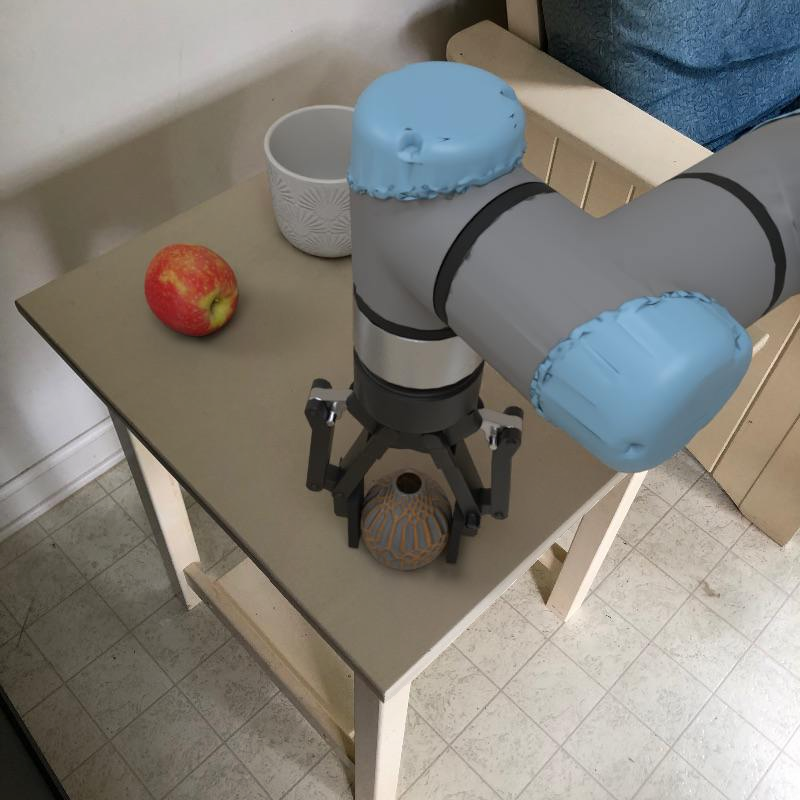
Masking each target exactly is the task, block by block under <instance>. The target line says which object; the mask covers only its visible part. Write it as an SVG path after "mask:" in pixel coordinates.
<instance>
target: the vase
mask: <svg viewBox="0 0 800 800" xmlns="http://www.w3.org/2000/svg"><path fill="white" fill-rule="evenodd" d="M451 505H452V504H451V502H450V499H449V497H448V494H447V493H446V491H445V490H444V488H443V486H442V485H441V484H440V483H439V482H438V481H437V480H436V479H435V478H434V477H432V476H431V475H428V474H427V473H425V472H423V471H420V470H418V469H415V468H408V467H407V468H402V469H397V470H393V471H391V472H388V473H386V474H384V475H382V476H381V477H380V478H378V479H376V481H375V482H374V483H373V484H372V485H371V487H370V488H369V489H368V491H367V492H366V493H365V495H364V501H363V503H362V507H361V512H360V527H361V537H362V538H363V541H364V544H365V546H366V547H367V549H368V551H369V552H370V553H371V555H372V556H373V557H374V558H375V559H376V560H377V561H379V563H381V564H384V565H385V566H387V567H389V568H392V569H396V570H400V571H401V570H402V571H411V570H416V569H418V568H422V567H424V566H427V565H429V564H430V563H431V562H433V561H434V560H435V559H436V558H438V557H439V556H440V555H441V553H442V552H443V550H444V549H445V547H446V546H447V545H448V544H447V543H449V537H450V533H451V528H452V518H453V509H452V506H451Z"/></svg>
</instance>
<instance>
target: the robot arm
mask: <svg viewBox="0 0 800 800" xmlns="http://www.w3.org/2000/svg"><path fill="white" fill-rule="evenodd" d="M354 108H355V109H354V114H353V123H352V140H351V157H350V165H349V167H348V169H347V181H348V184H349V195H350V222H351V250H352V254H351V274H352V282H351V288H352V289H351V291H352V295H351V296H352V299H351V301H352V341H353V351H352V356H353V357H352V358H353V359H352V360H353V361H352V362H353V381H352V382H351V383H350V385H349V388H333V386H332V384H331V382H330V381H329V380H327V379H325V378H321V377H319V378H315V379H313V381H312V384H311V387H310V390H309V394H308V397H307V400H306V404H305V408H304V411H303V414H304V416H305V418H306V421H307V423H308V425H309V427H310V429H311V436H310V445H309V452H308V454H309V455H308V462H307V473H306V480H305V481H306V482H305V487H306V488H307V490H308V491H310V492H315V493H320V492H322V491H323V490H326V491H328V492H330V493H331V495H330V496H331V497H332V501H333V502H332V503H333V513H334V514H335V516H336V517H339V518H346V519H347V541H348V543H347V545H348V546H347V547H348V548H352V549H357V550H358V549H359V546H360V541H361V537H362V533H361V527H360V512H361V507H362V503H363V501H364V498H365V476H366V475H367V473H368V472H369V471H370V469H371V468H372V466H373V465H374V464H375V463H376V462H377V461H380V460H381V459H382V458H383V457H384V455H385V454H386V452H387V451H388V450H389V449H393V450H411V451H415V452H417V453H422V454H425V455H426V454H427V455H430V458H431V460H432V462H433V464H434V465H435V468H436V469H437V470H441V472H442V474H443V476H444V477H445V480H446V482H447V485H448V486H449V488H450V490H451V492H452V494H453V496H454V498H455V501H454V508H453V511H452V528H451V533H450V536H449V539H448V544H447V547H448V548H447V553H446V558H445V560H446V561H445V563H446V564H451V565H456V564H457V560H458V554H459V549H460V544H461V539H462V536H463V537H470V538H475V537H476V536H477V535H478V531H479V529H480V528H481V523H482V517H483V516H486V515H490V516H491V518H492V519H495V520H498V521H504V520H507V519H508V518H509V513H510V511H509V510H510V501H511V500H510V499H511V490H512V487H511V486H512V470H513V469H512V467H513V457H514V455H515V454H516V453H517V451H518V450H519V449H520V447H521V446H522V439H523V427H524V417H525V410H524V409H522V407H520V406H518V405H517V406H516V405H510V406H508V407H507V406H506V408H505V409H504V411H502V412H500V411H496V410H494V409H489V408H487V407H485V403H484V401H483V400H482V398H481V396H480V391H481V385H482V380H483V376H484V375H483V374H484V368H485V363H487V364H488V365H489V366H490V367H491V368H492V369H493V370H494V371H495V372H496V373H497V374H498V375H500V377H501V378H503V379H504V380H505V381H506V382H507V383H508V384H509V385H510V386H511V387H512V388H513V389H514V390H516V391H517V392H518V393H519V394H520V395H521V396H522V397H523V398H525V400H527V402H529V404H531V405H532V406H533V409H534V411H535V412H536V413H537V414H538V415H539V417H540V418H542V419H543V420H545V422H546V423H549V424H551V425H552V426H553V427H555V428H557V429H560V430H562V432H564V433H565V434H566V435H568V437H570V438H572V439H573V440H574V441H575V442H576V443H577V444H579V445H580V446H581V447H583V448H584V449H585V450H586V451H588V453H590V454H592V455H593V456H594V457H595V458H596V459H598V461H600V462H601V463H602V464H604V465H605V466H606V467H607V468H609V469H611V470H614V471H616V472H618V473H622V474H623V473H624V474H638V473H639V474H640V473H642V472H647V471H650V470H652V469H655V468H657V467H659V466H661V465H662V464H664V463H665V462H667V461H669V460H670V459H671V458H673V457H674V456H675V455H677V454H678V453H679V452H680V451H682V450H683V449H684V448H685V447H686V446H687V445H688V444H690V442H691V441H692V440H693V439H694V437H695V436H696V435H697V434H698V433H699V432H700V431H701V430H703V429H704V428H705V427H707V426H708V425H709V424H710V423H711V422H712V421H713V420H714V419H715V417H716V416H717V415H718V414H719V413H720V411H721V410H722V409H723V408H724V406H725V405H726V404H727V403H728V402H729V400H731V398H732V396H733V395H734V394H735V393H736V391H737V389H738V388H739V386H740V384H741V382H742V381H743V379H744V378H745V376H746V374H747V372H748V370H749V368H750V366H751V362H752V359H753V353H754V346H753V345H754V344H753V339H752V337H751V335H750V334H749V332H748V331H747V329H748V328H750V327H751V326H752V325H754V324H755V323H756V322H758V321H759V320H760V319H762V318H764V317H765V316H766V315H767V314H769V313H771V312H772V311H773V310H775V309H776V308H777V307H779V306H780V305H782V304H783V303H785V302H786V301H788V300H789V299H790V298H792V297H794V296H797V295H800V108H798V109H795V110H794V111H791V112H787V113H784V114H782V115H779V116H777V117H772V118H770V119H767V120H764V121H763V122H761V123H759V124H756V125H755V126H754V127H753V128H752V129H751V130H750V131H748V132H746V133H745V134H743V135H741V136H740V137H738V139H736V140H735V141H733V142H731V143H730V144H728V145H726V146H724V147H722V148H720V149H719V150H717V151H716V152H714V153H711V155H708V156H707V157H705V158H704V159H701V160H700V161H698V162H697V163H695V164H693V165H692V166H691V165H690V167H688V168H686V169H684V170H683V171H681V172H679V173H678V174H676V175H673V176H672V177H671V178H669V179H667V180H665V181H663V182H661V183H660V184H658V185H656V186H655V187H653V188H652V189H649V190H648V191H646V192H644V193H642V194H640V195H638V196H637V197H635V198H632V199H631V200H630V201H628V202H626V203H624V204H622V205H621V206H618V207H617V208H615V209H613V210H611V211H610V212H608V213H606V214H604V215H603V216H600V217H594V216H593V215H591V214H590V213H589V212H587V211H586V210H585V209H583V208H581V207H580V206H579V205H578V204H576V203H574V202H573V201H572V200H571V199H569V198H567V197H566V196H565V195H563V194H562V193H560V192H559V191H557V190H556V189H554V188H553V187H551V186H550V185H549V184H548V183H547V182H545V181H544V180H543V179H541V178H540V177H538V176H537V175H535V174H534V173H533V172H532V171H530V170H529V169H527V168H526V167H525V166H524V164H523V161H522V160H523V159H524V155H525V154H526V150H527V148H528V142H526V138H525V137H526V136H525V134H526V125H527V115H526V111H525V110H524V108H523V106H522V103H521V102H520V100H519V99H518V97H517V94H516V91H515V89H514V88H513V87H512V86H511V85H510V84H509V83H508V82H506V81H505V80H504V79H502V78H500V77H499V76H498V75H495V74H494V73H492V72H491V71H488V70H485V69H483V68H480V67H478V66H474V65H471V64H465V63H461V62H455V61H444V60H443V61H442V60H437V61H436V60H435V61H434V60H433V61H432V60H429V61H421V62H415V63H410V64H405V65H403V66H401V68H399V69H396V70H393V71H390V72H384V73H383V74H381V75H380V76H378V77H377V78H375V79H374V80H373V81H372V82H370V83H369V84H368V85H367V86H366V88H365V89H363V90H362V92H361V94H360V95H359V97H358V99H357V101H356V102H355V106H354ZM345 411H348V413H349V414H350V416H352V418H354V419H355V420H356V421H357V422H358V423H359V424H360V425H361V426H362V427H363V428H362V430H361V431H360V433H359V434H358V435H357V437H356V439H355V440H354V442H353V443H352V445H351V447H349V449H348V450H347V452H346V453H345V455H344V456H340V457H339V462H338V465H335V464H332V463H331V457H332V456H331V455H332V448H333V443H334V436H335V428H336V423H337V421H339V420H341V419H342V417H343V413H344V412H345ZM479 430H481V431H483V433H484V439H485V441H487V443H488V449H490V450H492V453H491V462H490V487H485V485H484V483H483V481H482V478H481V477H480V474H479V472H478V471H479V470H478V469H477V467H476V464H475V462H474V459H473V458H472V455H471V453H470V451H469V449H468V446H467V444H466V442H465V439H467V438H468V437H470V436H472V435H473V434H476V433H477V432H478V431H479Z"/></svg>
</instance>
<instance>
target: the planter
mask: <svg viewBox="0 0 800 800" xmlns="http://www.w3.org/2000/svg"><path fill="white" fill-rule="evenodd" d="M354 109H355V107H352V106H348V105H340V104H316V105H309V106H305V107H302V108H297V109H295V110H292V111H290V112H288V113H285V114H283V115H282V116H280V117H279V118H278V119H277V120H276V121H274V122H273V123H272V124H271V125H270V126H269V128H268V130H267V131H266V133H265V136H264V139H263V151H264V156H265V165H266V172H267V178H268V179H267V180H268V186H269V192H270V197H271V202H272V209H273V212H274V216H275V219H276V223H277V226H278V227H279V229H280V232H281V233H282V235H283V237H285V239H286V240H287V242H289V243H290V244H291V245H293V247H295V248H297V249H298V250H300V251H302V252H304V253H305V254H310V255H312V256H316V257H323V258H340V257H346V256H350V255H351V256H352V250H351V222H350V195H349V184H348V181H347V169H348V167H349V165H350V157H351V140H352V123H353V114H354Z"/></svg>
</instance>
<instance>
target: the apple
mask: <svg viewBox="0 0 800 800" xmlns="http://www.w3.org/2000/svg"><path fill="white" fill-rule="evenodd" d="M143 287H144V288H143V289H144V296H145V300H146V303H147V305H148V307H149V309H150V311H151V312H152V313H153V315H154V316H155V317H156V318H157V319H158V320H159V321H160V322H161V323H162V324H163V325H165V326H166V327H167V328H169V329H170V330H172V331H174V332H176V333H179V334H181V335H185V336H191V337H203V336H208V335H210V334H212V333H213V332H215V331H217V330H219V329H220V328H222V327H223V326H224V325H225V324H226V323H227V322H228V321H229V320H230V319H231V318H232V316H233V315H234V313H235V311H236V308H237V305H238V302H239V286H238V280H237V277H236V274H235V272H234V270H233V269H232V268H231V266H230V264H229V263H228V261H226V259H225V258H223V257H222V256H221V255H220V254H218V253H216V252H215V251H214V250H212V249H210V248H209V247H207V246H204V245H201V244H197V243H190V242H181V243H174V244H171V245H168V246H165V247H163V248H161V249H160V250H159V251H158V252H157V253H156V254H155V255H154V256H153V257H152V259H151V260H150V261H149V263H148V265H147V268H146V272H145V275H144V283H143Z"/></svg>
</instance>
